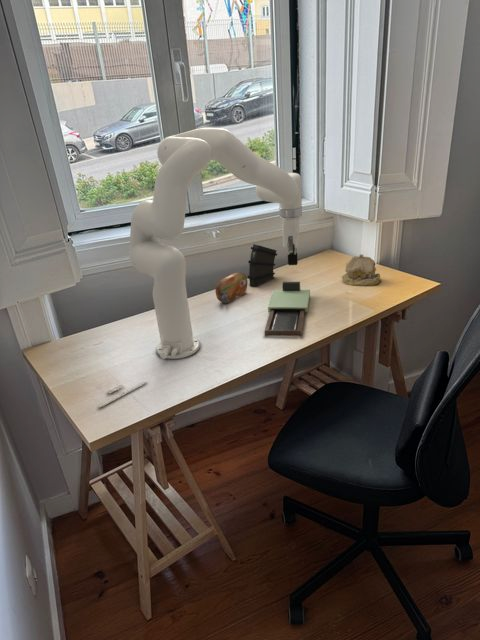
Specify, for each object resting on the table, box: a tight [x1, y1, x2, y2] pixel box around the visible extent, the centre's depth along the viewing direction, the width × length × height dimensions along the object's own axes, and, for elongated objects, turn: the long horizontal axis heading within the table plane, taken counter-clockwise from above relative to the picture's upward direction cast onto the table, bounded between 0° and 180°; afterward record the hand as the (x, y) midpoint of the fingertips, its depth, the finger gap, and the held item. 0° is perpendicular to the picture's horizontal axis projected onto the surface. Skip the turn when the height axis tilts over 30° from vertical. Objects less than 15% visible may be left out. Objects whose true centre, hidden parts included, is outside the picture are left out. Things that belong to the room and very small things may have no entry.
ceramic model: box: [343, 254, 381, 286], centre depth 185 cm, size 14×11×10 cm
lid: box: [267, 281, 311, 313], centre depth 169 cm, size 15×13×5 cm
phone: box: [272, 312, 299, 330], centre depth 158 cm, size 14×7×1 cm, turn 172°
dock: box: [264, 309, 306, 337], centre depth 164 cm, size 30×11×2 cm, turn 172°
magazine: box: [247, 243, 278, 287], centre depth 190 cm, size 4×13×15 cm, turn 137°
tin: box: [215, 272, 248, 304], centre depth 178 cm, size 15×3×8 cm, turn 143°
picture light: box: [98, 382, 145, 408], centre depth 129 cm, size 14×4×2 cm, turn 138°
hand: (292, 264), depth 176 cm, fingers closed
